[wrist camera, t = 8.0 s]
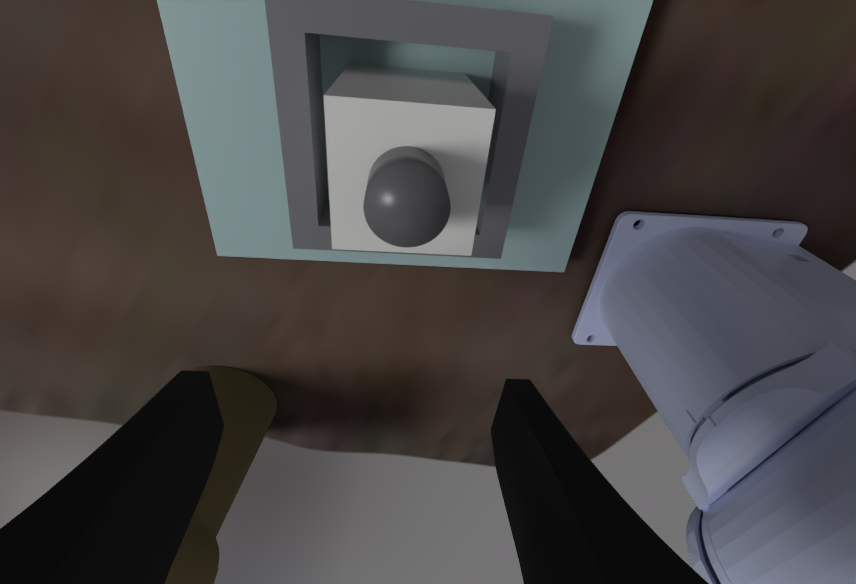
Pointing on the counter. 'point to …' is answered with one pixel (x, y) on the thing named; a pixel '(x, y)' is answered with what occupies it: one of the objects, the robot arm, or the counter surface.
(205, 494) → the cork
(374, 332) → the counter surface
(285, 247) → the socket
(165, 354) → the counter surface
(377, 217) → the plug
